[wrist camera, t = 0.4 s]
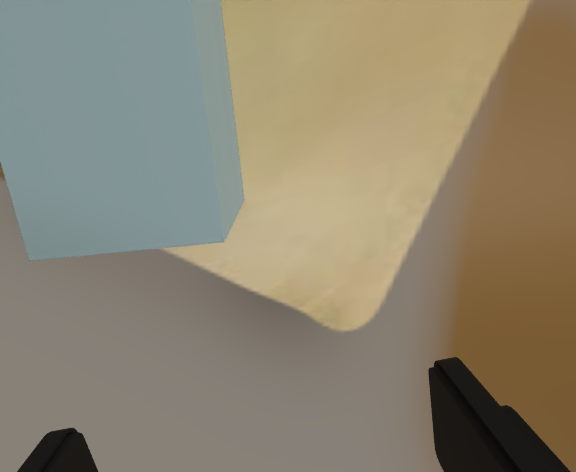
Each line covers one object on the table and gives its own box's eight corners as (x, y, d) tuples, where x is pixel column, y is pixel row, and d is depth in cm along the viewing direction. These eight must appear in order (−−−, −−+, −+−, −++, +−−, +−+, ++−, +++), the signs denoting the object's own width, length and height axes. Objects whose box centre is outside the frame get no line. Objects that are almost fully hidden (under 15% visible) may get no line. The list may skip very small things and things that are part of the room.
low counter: (80, -50, 32) (-121, -254, 16) (213, -61, 32) (152, -272, 16) (133, 210, 38) (29, 260, 22) (244, 199, 38) (224, 242, 22)
